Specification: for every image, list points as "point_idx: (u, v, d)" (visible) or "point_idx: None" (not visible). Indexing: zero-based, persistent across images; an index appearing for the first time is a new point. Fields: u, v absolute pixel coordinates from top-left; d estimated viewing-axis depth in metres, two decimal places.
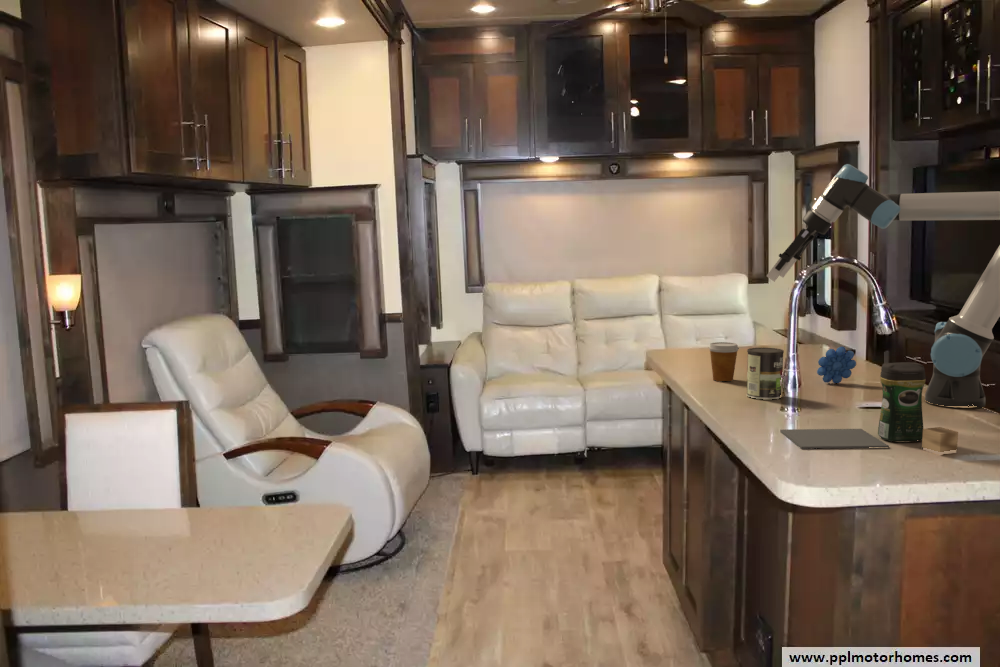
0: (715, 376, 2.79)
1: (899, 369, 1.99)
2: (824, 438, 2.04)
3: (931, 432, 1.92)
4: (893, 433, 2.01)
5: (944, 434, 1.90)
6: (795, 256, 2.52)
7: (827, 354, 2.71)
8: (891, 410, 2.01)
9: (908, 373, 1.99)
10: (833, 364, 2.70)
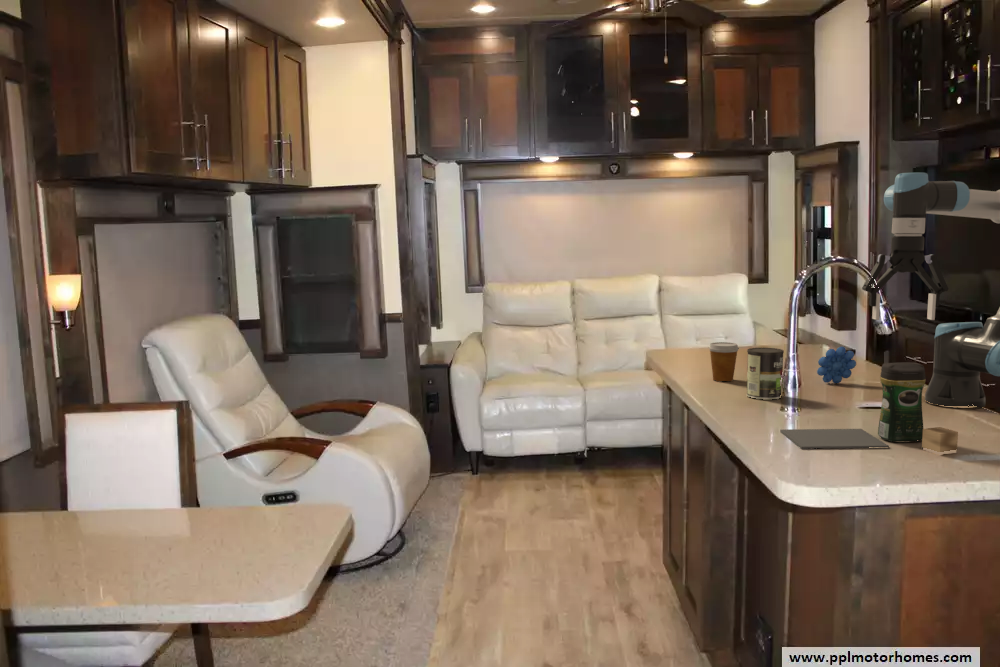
0: (715, 376, 2.79)
1: (899, 369, 1.99)
2: (824, 438, 2.04)
3: (931, 432, 1.92)
4: (893, 433, 2.01)
5: (944, 434, 1.90)
6: None
7: (827, 354, 2.71)
8: (891, 410, 2.01)
9: (908, 373, 1.99)
10: (833, 364, 2.70)
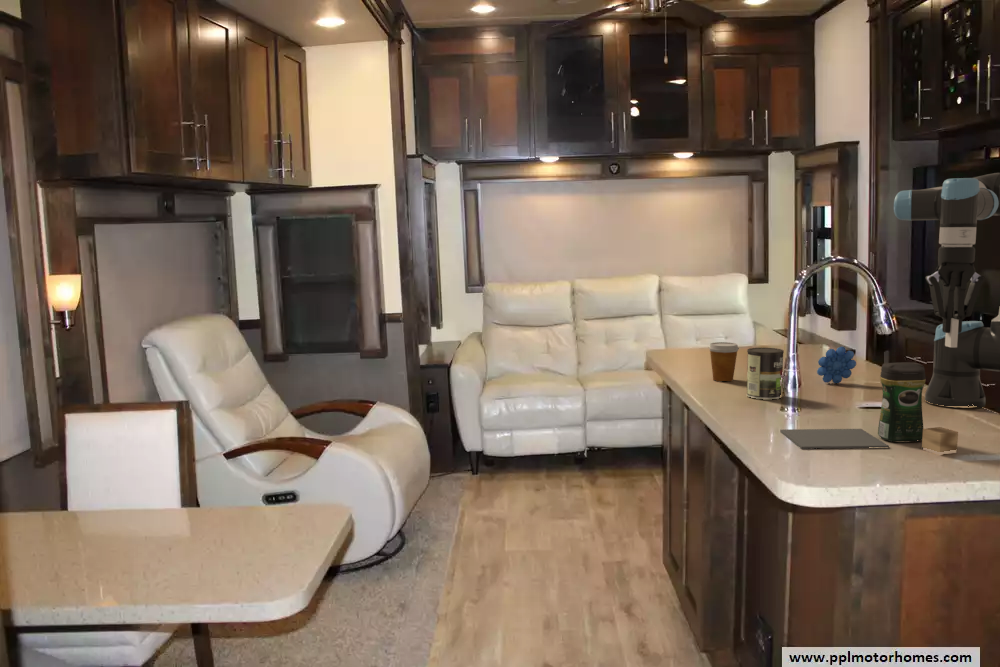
0: (715, 376, 2.79)
1: (899, 369, 1.99)
2: (824, 438, 2.04)
3: (931, 432, 1.92)
4: (893, 433, 2.01)
5: (944, 434, 1.90)
6: None
7: (827, 354, 2.71)
8: (891, 410, 2.01)
9: (908, 373, 1.99)
10: (833, 364, 2.70)
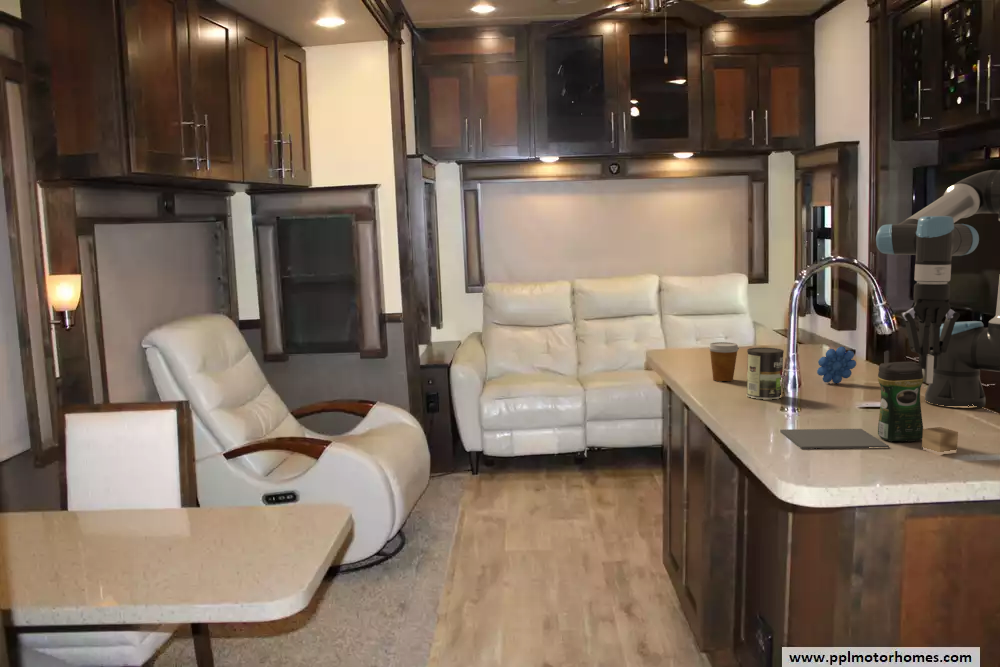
0: (715, 376, 2.79)
1: (897, 369, 1.99)
2: (824, 438, 2.04)
3: (931, 432, 1.92)
4: (893, 433, 2.01)
5: (944, 434, 1.90)
6: None
7: (827, 354, 2.71)
8: (890, 410, 2.01)
9: (905, 372, 1.99)
10: (833, 364, 2.70)
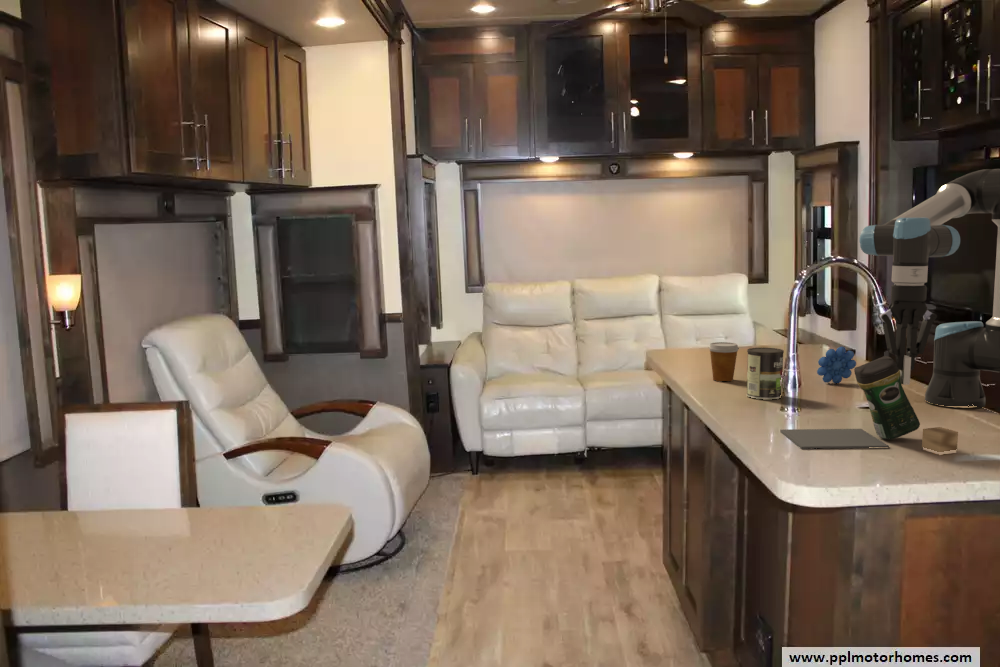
0: (715, 376, 2.79)
1: (870, 371, 2.00)
2: (824, 438, 2.04)
3: (931, 432, 1.92)
4: (889, 432, 2.01)
5: (944, 434, 1.90)
6: None
7: (827, 354, 2.71)
8: (878, 411, 2.01)
9: (879, 372, 1.99)
10: (833, 364, 2.70)
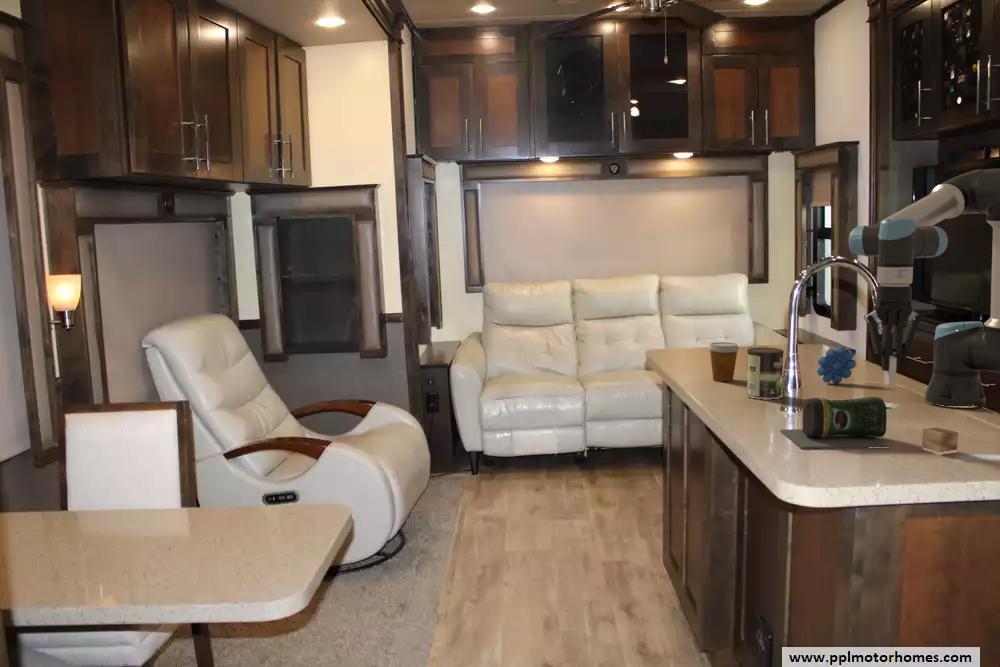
0: (715, 376, 2.79)
1: (811, 428, 2.02)
2: (824, 438, 2.04)
3: (931, 432, 1.92)
4: (877, 432, 2.01)
5: (944, 434, 1.90)
6: None
7: (827, 354, 2.71)
8: (853, 433, 2.02)
9: (816, 422, 2.01)
10: (833, 364, 2.70)
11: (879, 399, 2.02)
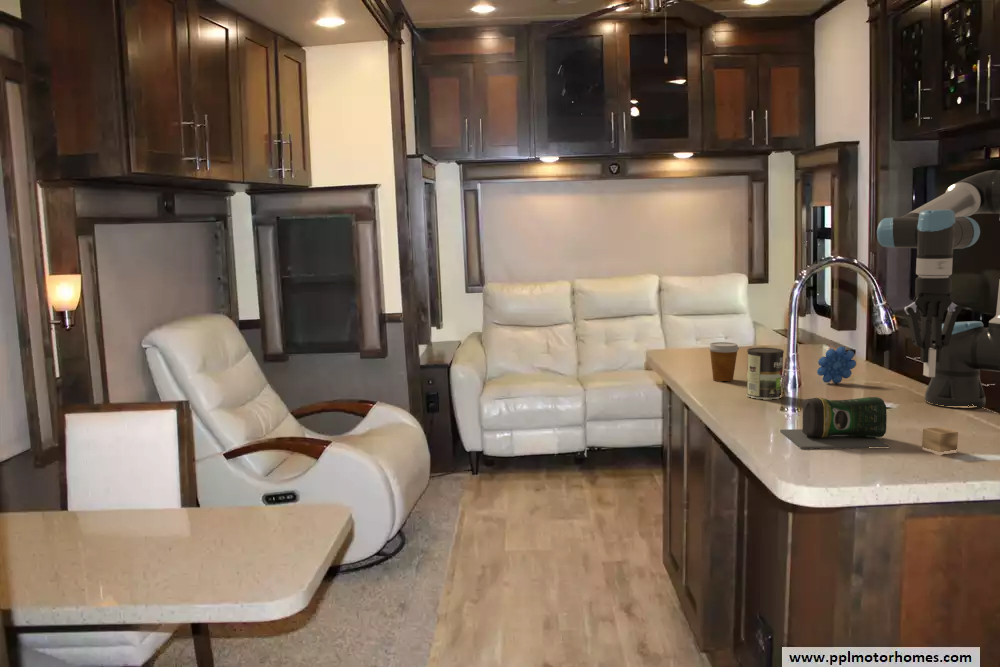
0: (715, 376, 2.79)
1: (811, 428, 2.02)
2: (824, 438, 2.04)
3: (931, 432, 1.92)
4: (877, 432, 2.01)
5: (944, 434, 1.90)
6: None
7: (827, 354, 2.71)
8: (853, 434, 2.02)
9: (816, 422, 2.01)
10: (833, 364, 2.70)
11: (879, 399, 2.02)
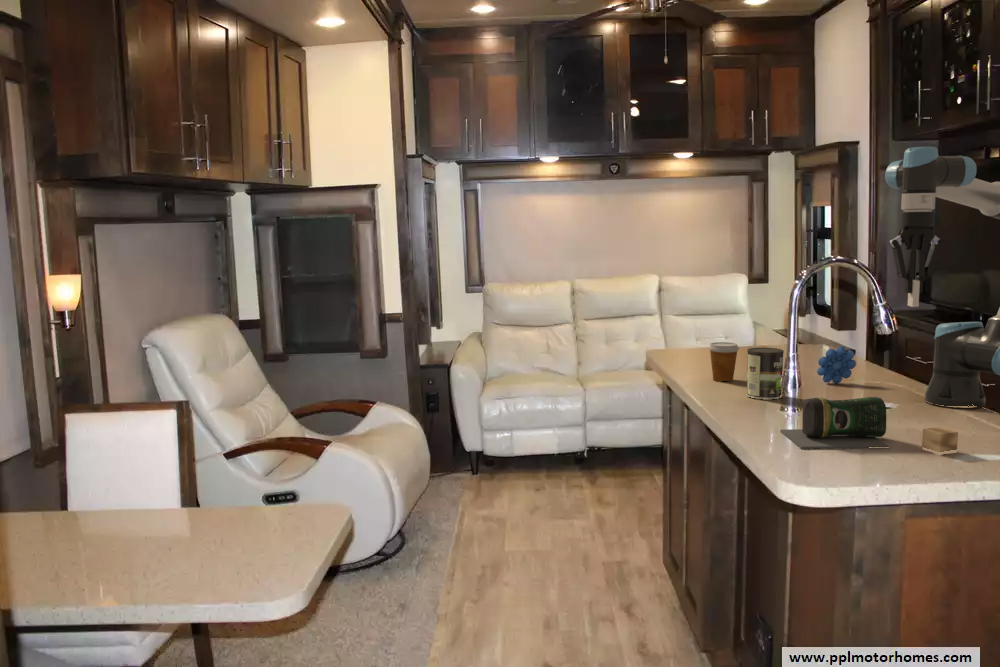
0: (715, 376, 2.79)
1: (811, 428, 2.02)
2: (824, 438, 2.04)
3: (931, 432, 1.92)
4: (877, 432, 2.01)
5: (944, 434, 1.90)
6: None
7: (827, 354, 2.71)
8: (853, 433, 2.02)
9: (816, 421, 2.01)
10: (833, 364, 2.70)
11: (879, 399, 2.02)
